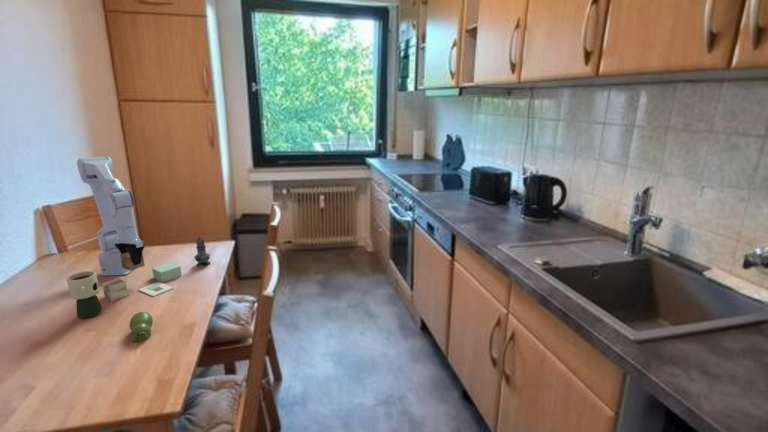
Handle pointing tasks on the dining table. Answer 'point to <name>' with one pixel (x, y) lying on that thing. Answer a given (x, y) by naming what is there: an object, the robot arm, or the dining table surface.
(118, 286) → the ash block
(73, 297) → the character mug
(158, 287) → the card
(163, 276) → the base block
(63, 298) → the dining table surface
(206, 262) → the dark green chess piece
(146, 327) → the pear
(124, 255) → the walnut block
